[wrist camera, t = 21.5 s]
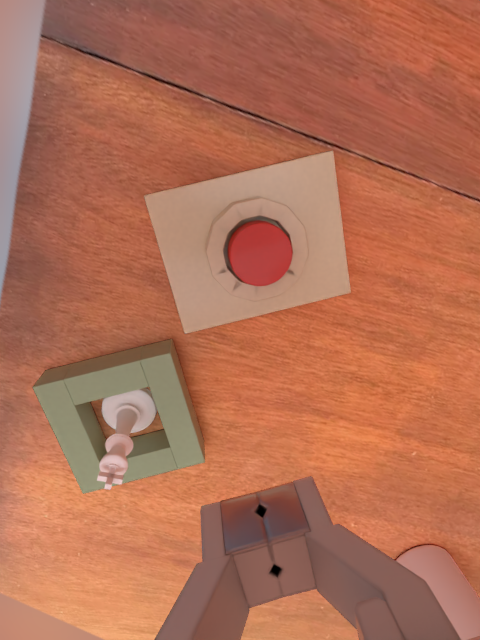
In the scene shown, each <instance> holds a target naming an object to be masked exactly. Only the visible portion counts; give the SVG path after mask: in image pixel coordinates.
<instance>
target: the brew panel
mask: <svg viewBox="0 0 480 640" xmlns="http://www.w3.org/2000/svg"><path fill="white" fill-rule="evenodd" d="M144 199H145V202H146V206H147V209H148V213H149V216H150V219H151V223H152V226H153V229H154V233H155V236H156V239H157V243H158V246H159V250H160V253H161V256H162V260H163V263H164V266H165V270H166V273H167V276H168V280H169V283H170V287H171V290H172V293H173V297H174V300H175V303H176V307H177V310H178V313H179V317H180V320H181V323H182V327H183V330H184V333H185V334H188V333H192V332H196V331H200V330H204V329H208V328H212V327H216V326H220V325H224V324H228V323H232V322H236V321H240V320H244V319H248V318H252V317H256V316H260V315H264V314H268V313H272V312H276V311H280V310H284V309H288V308H292V307H296V306H300V305H304V304H308V303H312V302H316V301H320V300H324V299H328V298H332V297H336V296H340V295H344V294H348V293H351V289H350V281H349V273H348V265H347V257H346V249H345V241H344V233H343V225H342V217H341V209H340V201H339V193H338V185H337V177H336V169H335V161H334V153H333V151H327V152H322V153H318V154H314V155H310V156H305V157H301V158H297V159H293V160H289V161H285V162H280V163H276V164H272V165H268V166H264V167H259V168H255V169H251V170H247V171H243V172H238V173H234V174H230V175H226V176H222V177H218V178H213V179H209V180H205V181H201V182H197V183H192V184H188V185H184V186H180V187H176V188H172V189H167V190H163V191H159V192H155V193H151V194H147V195H144ZM255 220H261V221H267V222H269V223H272V224H273V225H275V226H277V227H279V228H280V229H281V230H282V231H283V232H284V233H285V234H286V235H287V236H288V238H289V240H290V243H291V246H292V261H291V264H290V267H289V269H288V270H287V272H286V273H285V275H284V276H283V277H282V278H280V279H279V280H278V281H276V282H275V283H272V284H270V285H266V286H254V285H250V284H247V283H245V282H243V281H242V280H241V279H240V278H238V277H237V275H236V274H235V273H234V271H233V269H232V267H231V265H230V262H229V259H228V244H229V241H230V238H231V237H232V235H233V233H234V232H235V231H236V230H237V229H238V228H239V227H240V226H242V225H243V224H245V223H247V222H250V221H255Z"/></svg>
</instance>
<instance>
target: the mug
mask: <svg viewBox="0 0 480 640" xmlns="http://www.w3.org/2000/svg"><path fill="white" fill-rule="evenodd" d="M395 561H397V562H398V563H400V564H401V565H403V566H404V567H406V568H407V569H409V570H410V571H412V572H413V573H415V574H416V575H418V576H419V577H421V578H422V579H424V580H425V581H426V582H427V584H428V585H429V587H430V589H431V590H432V592H433V594H434V595H435V597H436V599H437V600H438V602H439V604H440V605H441V607H442V609H443V610H444V612H445V614H446V615H447V617H448V619H449V620H450V622H451V623H452V625H453V627H454V628H455V630H456V632H457V633H458V635H459V637H460V638H461V640H468V639H471V638H474V637H477V636H480V598H479V596H478V595H477V594H476V592H475V591H474V589H473V588H472V586H471V585H470V583H469V582H468V580H467V579H466V577H465V576H464V574H463V573H462V571H461V570H460V568H459V567H458V565H457V564H456V563H455V561H454V560H453V558H452V557H451V555H450V554H449V553H448V552H447V551H446V550H445V549H443V548H441V547H439V546H435V545H422V546H418V547H415V548H412V549H410V550H408V551H406V552H405V553H403V554H402V555H400V556H399V557H398V558H397V559H396V560H395Z"/></svg>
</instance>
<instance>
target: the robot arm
mask: <svg viewBox="0 0 480 640" xmlns="http://www.w3.org/2000/svg"><path fill="white" fill-rule="evenodd" d="M201 535H202V559H203V562H201V563H198V564H196V566H195V568H194V570H193V572H192V573H191V575H190V577H189V579H188V581H187V582H186V584H185V586H184V588H183V590H182V591H181V593H180V595H179V597H178V598H177V600H176V602H175V604H174V606H173V607H172V609H171V611H170V613H169V615H168V616H167V618H166V620H165V622H164V624H163V625H162V627H161V629H160V631H159V633H158V634H157V636H156V638H155V640H240V639H241V636H242V633H243V630H244V627H245V623H246V620H247V617H248V614H249V608H251V607H254V606H257V605H261V604H264V603H267V602H270V601H273V600H276V599H279V598H282V597H286V596H290V595H294V594H298V593H302V592H306V591H309V590H313V589H317V591H318V592H319V593H320V594H321V595H322V596H323V597H324V598H325V599H326V600H327V601H328V602H329V603H331V604H332V605H333V606H334V607H335V608H336V609H337V610H338V611H339V612H340V613H341V614H342V615H343V616H344V617H345V618H346V619H347V620H348V621H349V622H350V623H351V624H352V625H353V626H354V627H355V628H356V629H357V631H358V637H359V640H461V638H460V637H459V635H458V633H457V632H456V630H455V628H454V627H453V625H452V623H451V622H450V620H449V619H448V617H447V615H446V614H445V612H444V610H443V609H442V607H441V605H440V604H439V602H438V600H437V599H436V597H435V595H434V594H433V592H432V590H431V589H430V587H429V585H428V584H427V582H426V581H425V580H424V579H422V578H421V577H419V576H418V575H416V574H415V573H413V572H412V571H410V570H409V569H407V568H406V567H404V566H403V565H401V564H400V563H398V562H397V561H395V560H393V559H392V558H390V557H389V556H387V555H386V554H384V553H383V552H381V551H380V550H378V549H377V548H375V547H374V546H372V545H371V544H369V543H368V542H366V541H365V540H363V539H361V538H360V537H358V536H357V535H355V534H354V533H352V532H351V531H349V530H348V529H346V528H345V527H343V526H342V525H340V524H336V525H333V523H332V521H331V519H330V516H329V514H328V512H327V509H326V507H325V505H324V503H323V500H322V498H321V496H320V493H319V491H318V489H317V486H316V484H315V482H314V479H313V478H312V477H311V476H309V477H306V478H302V479H299V480H295V481H293V482H289V483H285V484H282V485H278V486H275V487H271V488H268V489H264V490H261V491H257V492H254V493H250V494H246V495H242V496H238V497H234V498H230V499H226V500H222V501H220V502H216V503H212V504H208V505H204V506H202V507H201ZM468 640H480V636H477V637H474V638H471V639H468Z"/></svg>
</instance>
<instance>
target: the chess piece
mask: <svg viewBox="0 0 480 640" xmlns="http://www.w3.org/2000/svg"><path fill="white" fill-rule="evenodd" d="M101 410H102V416H103V418H104V420H105V421H106V423H107V424H108V425H109V426H110V427H112V428H113V429H115V430H116V433H115V434H113V435H111V436H110V437H109V438H108V439H107V440H106V443H105V447H106V451H107V452H108V453H107V454H106V455H105V456H104V457H103V458H102V459H101V461H100V464H99V468H100V471H99V474H98V478H97V481H102V482H106V483H105V487H104V489H108V490H111V486H112V483H114V484H120V485H121V484H122V481H123V477H124V475H123V474H124V473H125V472H126V471H127V469H128V461H127V458H126V456H127V455H128V454H129V453H130V452H131V451H132V449H133V441H132V439H131V438H130V437H129V435H130V433H134V432H138V431H141V430H143V429H145V428H147V427H148V426H149V425H150V424H151V423H152V422H153V420H154V418H155V416H156V413H157V408H156V405H155V402H154V399H153V396H152V393H151V391H150V390H149V389H147V388H142V389H138V390H134V391H131V392H127V393H123V394H119V395H115V396H111V397H107V398H103V401H102V408H101Z"/></svg>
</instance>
